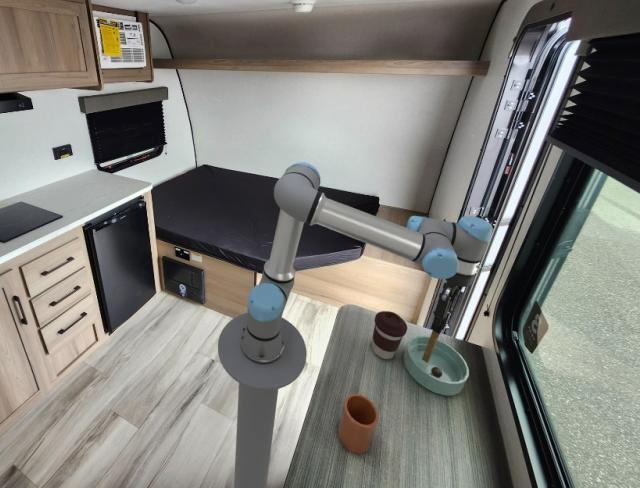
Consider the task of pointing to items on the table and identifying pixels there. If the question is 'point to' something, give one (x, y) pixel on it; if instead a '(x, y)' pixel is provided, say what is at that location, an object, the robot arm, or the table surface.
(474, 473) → the table surface
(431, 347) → the stick
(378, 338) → the coffee cup
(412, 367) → the bowl
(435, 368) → the bead
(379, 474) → the table surface
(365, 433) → the crock
